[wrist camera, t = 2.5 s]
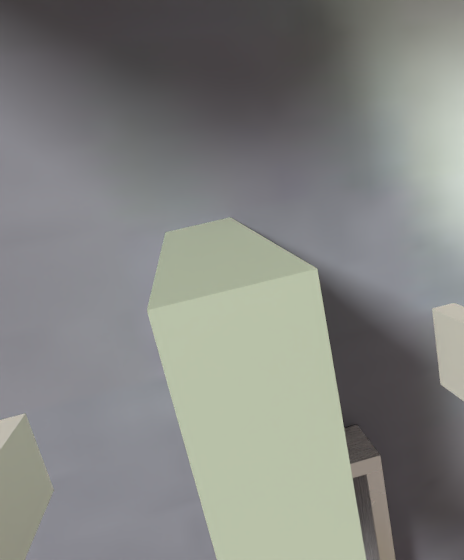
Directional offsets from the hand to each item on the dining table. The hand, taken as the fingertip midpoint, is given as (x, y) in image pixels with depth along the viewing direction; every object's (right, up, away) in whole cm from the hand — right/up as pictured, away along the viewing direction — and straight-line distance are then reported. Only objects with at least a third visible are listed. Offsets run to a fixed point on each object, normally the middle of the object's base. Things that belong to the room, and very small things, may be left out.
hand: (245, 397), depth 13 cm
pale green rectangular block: (-1, +2, +7) cm, 7 cm away
